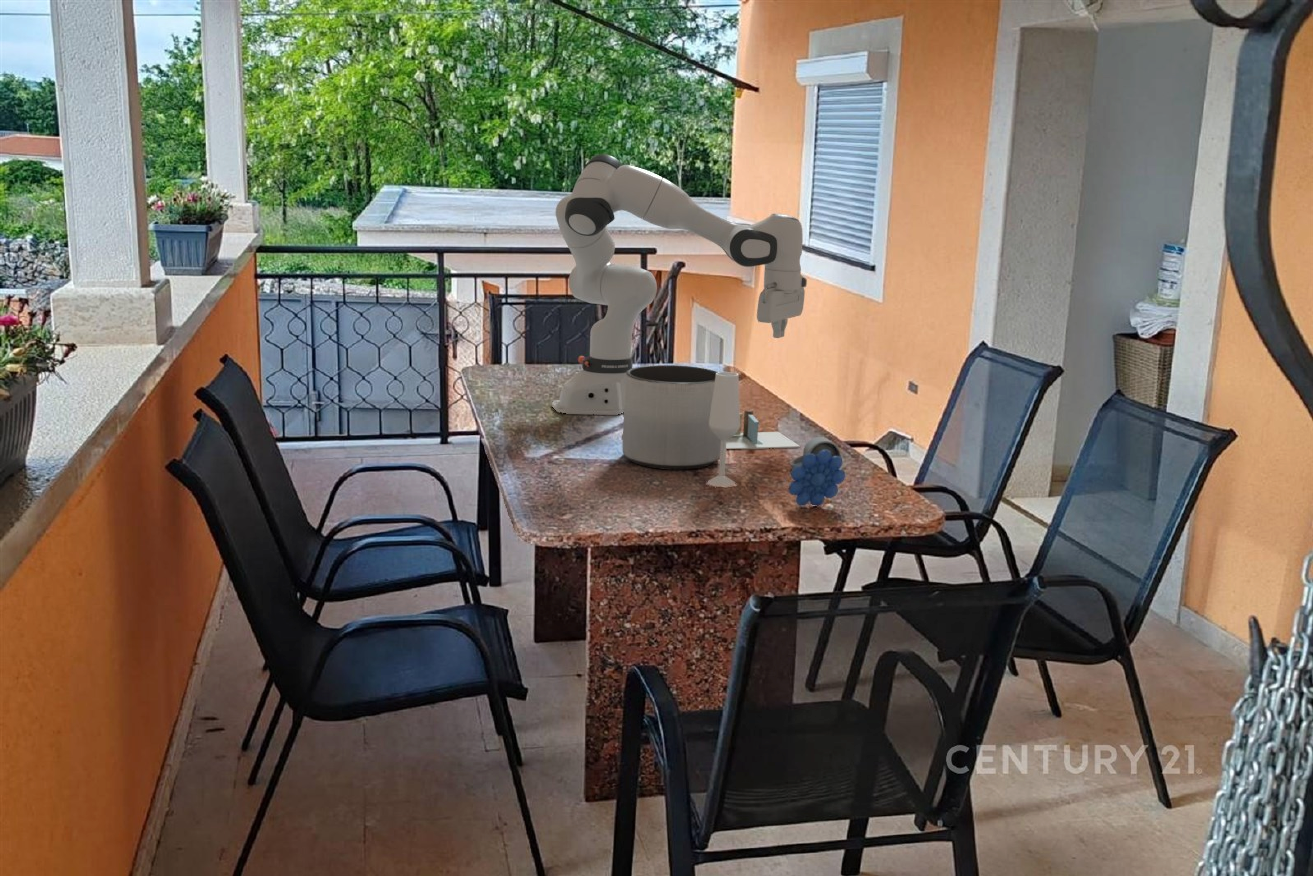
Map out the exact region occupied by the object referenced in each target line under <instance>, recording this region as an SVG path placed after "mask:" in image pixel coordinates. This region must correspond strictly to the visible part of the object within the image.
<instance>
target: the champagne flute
mask: <svg viewBox="0 0 1313 876" xmlns="http://www.w3.org/2000/svg"><path fill="white" fill-rule="evenodd" d="M717 372H718V373H716V377H715V383H714V390H713V397H712V404H711V411H710V418H709V427H710V429H711V431H712V432H713V433H714V434H715V435H716V436H717V438H719V439H720V440H721V448H720V457H719V467H718V469H719V470H718V475H717V476H715V477H713V478H711V479H709V480H707V481H708V484H710V485H717V486H730V485H735V483H736V482H735V481H733V480H732V479H731V478H729V477H728V476H726V475H725V473H726V455H727V454H726V452H727V450H726V440H728V439H730V438H731V437H732V436H733V435H734V434H735V433H736V432H737V431H738V430H739V428H740V413H741V412H740V411H741V410H740V384H739V373H737V372H731V371H730V372H729V371H717Z"/></svg>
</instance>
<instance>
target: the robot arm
mask: <svg viewBox="0 0 1313 876" xmlns="http://www.w3.org/2000/svg"><path fill="white" fill-rule="evenodd" d="M620 211H625V212H627V213H630V214H632V215H634V216H635V217H637V218H639V219H641V220H643V221H644V222H647V223H649V224H652V225H654V226H657V227H661V228H665V229H667V230H685V231H688V232H691V233H694V234H696V235H698V236H700V237H702V238H704V239H706V240H708V241H710V242H712V243H714V244H716V245H717V246H718V247H720V248H721V249H722V250H723V252H724V253H725V254H726V255H727V257H728V258H729V259H730V260H732V261H733V262H735V263H736V264H737V265H739V266H741V267H744V268H753V267H757V266H764V271H763V272H764V275H763V276H764V277H763V289H762V291H761V292H760V293H759V296H758V301H757V302H758V303H757V310H756V320H757V322H758V323H765V324H771V328H772V337H773V338H774V339H779V338H783V337H785V332H786V327H787V325H788V319H790V318H795V317H799V316H801V315H802V313H803V310H804V303H805V293H806V291H805V288H806V287H807V284H808V279H807V278H806V277H805V276H804V275H802V274H801V273H802V272H801V271H802V269H801V256H802V254H803V237H804V236H803V226H802V223H801V222H800V220H799V219H797V218H796V217H794V216H791V215H788V214H787V215H786V214H782V213H771V214H770V215H769V216H767V217H766V218H764V219H762V220H760V221H758V222H756V223H753V224H750V223H744V222H741V223H740V222H739V223H738V222H732V221H728V220H726V219H725V218H721V217H720V216H719V215H716V214H714V213H712V212H710V211H708V210H706V209H704V208H702V207H701V206H700V205H698V204H697V203H696V202H695V201H694V200H693V199H692V198H691V197H690V195H689V194H688V193H687V192H686V191H684V190H683V189H682V188H681V187H679V186H678V185H677V184H675V183H674V182H671V181H670V180H668V179H667V178H665V177H662V176H660V175H658V174H656V173H654V172H652V171H649V170H647V169H643V168H641V167H637V166H633V165H630V164H623V163H622V162H621V161H620V160H619V159H617V157H614V156H612V155H610V154H604V153H601V154H596V155H594V156H592V157H591V158H590V159H588V161H587V162H586V164H585V165H584V167H583V170H582V172H581V173H580V174H579V177H578V178H577V180H576V182H575V184H574V187H573V189H572V193H570V194H568V195H566V196H564V197H563V198H561V199H560V200H559V201H558V202H557V205H556V208H555V217H556V221H557V225H558V227H559V230H560V233H561V235H562V238H563V240H564V242H565V244H566V246H567V247H568V249H569V251H570V253H571V256H572V257H573V259H574V261H575V266H574V267H573V268H572V269H571V271H570V274H569V276H568V289H569V291H570V294H571V295H572V296H573V297H574V298H575V299H578V300H580V301H583V302H585V303H589V304H594V305H595V304H596V305H604V306H607V310H606V314H605V316H604V318H601V319H600V320H598V321H596V322H595V323H593V325H592V327H591V329H590V331H589V332H590V333H589V334H590V335H589V355H588V356H587V357H585V356H584V355H580V356H579V357H578V358H577V360H578V363H579V364H581V366H582V367H581V368H582V369H581V370H580V371H579V372H577V373H576V374H575V375H573V376H572V377H571V378H569V379H568V380H567V381H565V382H564V383H563V385H562V387H561V391H560V397H559V399H557V400H556V399H555V400H554V401H552V403H551V408H552V407H553V408H554V409H555V410H556V411H555V410H554V409H553V408H552V409H553V410H554V411H555V412H557V413H560V412H562V413H561V414H563V413H566V415H593V414H594V415H595V416H596V415H598V416H601V415H602V416H619V415H618V414H620V415H622V414H623V413H622V412H624V404H625V380H626V371H628V370H629V369H632V368H633V358H632V356H631V355H632V354H631V353H632V342H633V341H632V338H633V330H634V326H635V324H636V322H637V319H638V317H639V315H640V314H642V313H641V312H642V311H643V310H644V309H646V308H647V307H648V306H650V305H651V304H652V303H653V301H654V300H655V298H656V295H657V291H658V285H657V280H656V278H655V275H654V274H653V273H652V272H651V271H650V270H646V269H645V268H641V267H638V266H635V265H634V266H633V265H625V264H615V263H612V262H610V261H611V260H612V259H613V256H614V255H615V250H616V245H615V241H614V239H613V237H612V235H611V233H610V231H609V230H608V227H607V226H608V225H609V224H611V223H612V222H613V221H614V220H615V219H616V218H615V217H616V216H615V213H616V212H620ZM621 413H622V414H621Z"/></svg>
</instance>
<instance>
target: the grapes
mask: <svg viewBox="0 0 1313 876" xmlns="http://www.w3.org/2000/svg"><path fill="white" fill-rule="evenodd" d="M843 463H844V462H843V458H842V456H841V457H840V456H833V457H832V458H831V452H830V451H829V450H822V451H820V452H819V453H818V455H817V457H816V455H815V454H811V453H809V454H807V455H805V456H804V457H803V459H802V465H803V466H796V467H794V468H793V469H792V468H791V472H790V477H791V479H792V480H793V481H792V482H790V484H789V486H788V493H789V494H790V495H791V496H792V495H793V496H796V498H795V500H796V503H797V505H799V506H806V505H807V504H810V505H811V504H812V505H817V506H818V505H820V506H822V504H823V503H824V502H825V498H826V499H832V498H834V497H836V495H837V494H838V492H839V488H838V485H840V484H841V483H843V482H844V481H845V479H846V473H845V470H843V469H842V466H843ZM812 505H811V506H812ZM818 507H819V506H818Z"/></svg>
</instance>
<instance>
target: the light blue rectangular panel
mask: <svg viewBox="0 0 1313 876" xmlns="http://www.w3.org/2000/svg"><path fill="white" fill-rule="evenodd" d="M748 418H749V419H748V437H749V438H750V440H751V441H752V442H753V443H754V444H757V437H758V432H759V425H760V422H759V419H757V418H756V417H755V416H754V414H753V415H748Z"/></svg>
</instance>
